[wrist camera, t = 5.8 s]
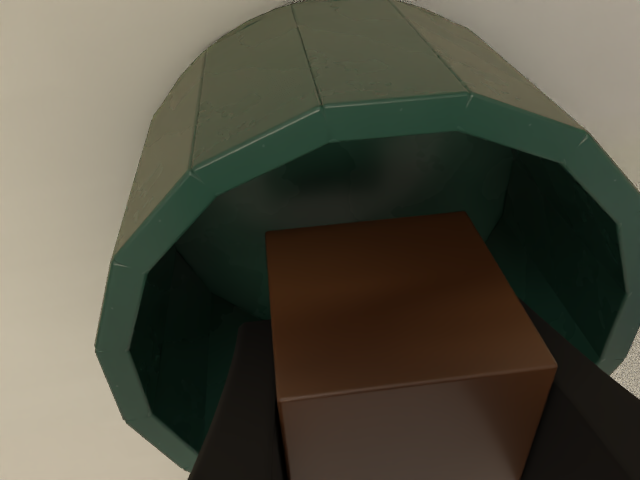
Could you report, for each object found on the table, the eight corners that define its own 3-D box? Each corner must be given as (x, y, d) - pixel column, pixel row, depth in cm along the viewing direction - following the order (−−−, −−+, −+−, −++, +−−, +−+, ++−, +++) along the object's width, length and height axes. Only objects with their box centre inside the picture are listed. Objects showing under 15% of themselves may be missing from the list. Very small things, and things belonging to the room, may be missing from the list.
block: (466, 209, 11) (560, 365, 8) (446, 347, 13) (512, 509, 10) (264, 230, 11) (277, 401, 7) (280, 367, 13) (295, 540, 10)
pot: (494, 311, 19) (578, 468, 14) (184, 347, 18) (166, 526, 13) (564, -21, 13) (754, 67, 8) (93, 12, 12) (1, 132, 7)
